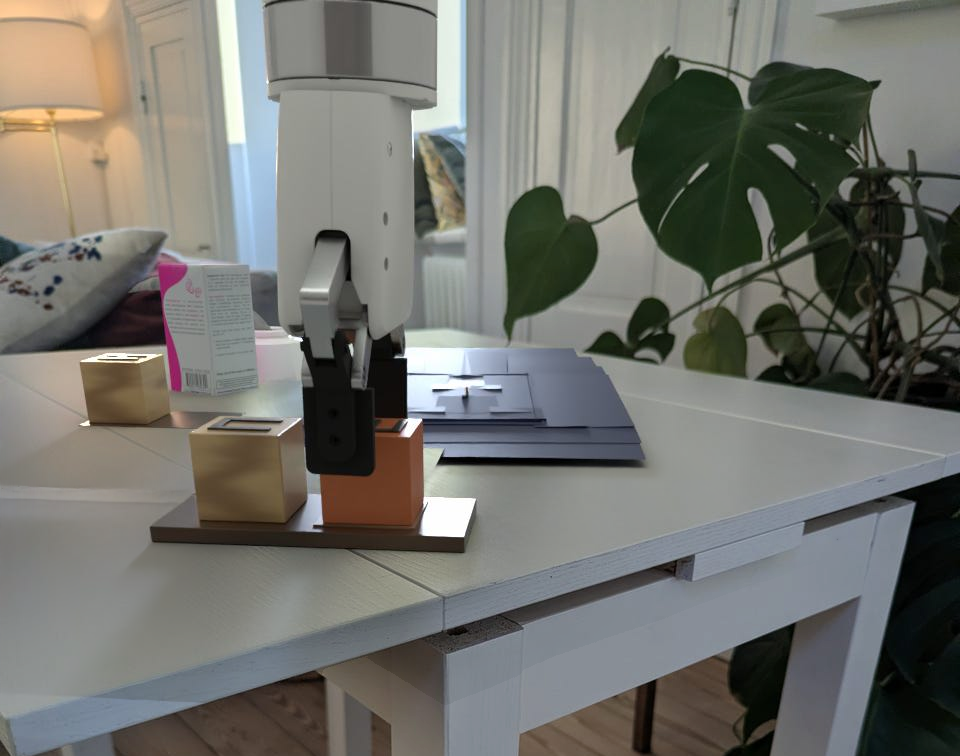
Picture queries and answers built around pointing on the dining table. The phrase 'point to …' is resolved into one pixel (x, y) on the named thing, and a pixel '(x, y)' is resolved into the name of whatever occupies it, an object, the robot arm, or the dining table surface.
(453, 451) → the grey stepped plate
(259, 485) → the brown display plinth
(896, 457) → the dining table surface
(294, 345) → the white piece
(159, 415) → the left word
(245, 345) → the supplement box
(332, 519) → the orange embossed-top cube
